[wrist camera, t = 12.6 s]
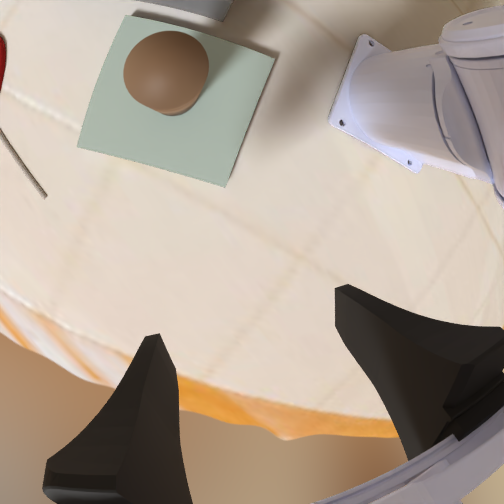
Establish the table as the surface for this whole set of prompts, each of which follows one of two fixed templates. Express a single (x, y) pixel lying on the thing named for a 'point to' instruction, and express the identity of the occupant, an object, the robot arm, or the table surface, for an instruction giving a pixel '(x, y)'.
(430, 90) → the robot arm
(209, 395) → the table surface
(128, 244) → the table surface
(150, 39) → the brown cylinder
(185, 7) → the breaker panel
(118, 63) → the pad
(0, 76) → the lollipop
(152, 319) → the table surface
